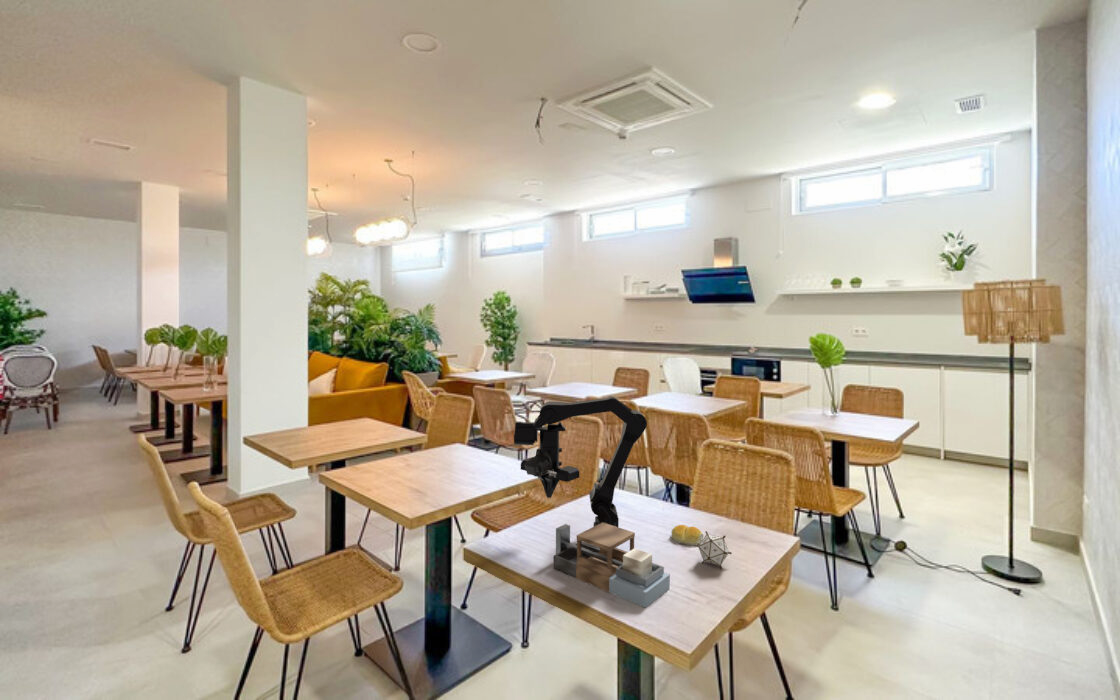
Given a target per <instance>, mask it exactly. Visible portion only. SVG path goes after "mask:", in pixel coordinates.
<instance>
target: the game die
mask: <svg viewBox="0 0 1120 700" xmlns="http://www.w3.org/2000/svg"><path fill="white" fill-rule="evenodd" d="M705 534H706V535H705V536H703V540H702V541H701V543H700V544H698V545H694V546H695V547H696V548H698V550H699V553H700V555H701V558H702V561H701V564H702V565H703V564H705V563H708V564H712V565H716V566H719V568H720V569H723V566H722V564H723V563H724V561H725V560H726V558H727V557H728V556H729V555H732V554H733V552H731V551H729V548H728V546H727V543H726V540H725V539H726V534H725V535H723V536H717V535H714V534H709V532H708V531H707V530H705Z"/></svg>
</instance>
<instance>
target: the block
mask: <svg viewBox="0 0 1120 700" xmlns="http://www.w3.org/2000/svg"><path fill="white" fill-rule="evenodd" d="M627 552H628V553H626V554H624V555H623V570H625V571H628V572H631V573H633V574H636V575H639V576H641V577H644V578H646V577H647V576H649V575H650V574H651V573H652V563H653V554H652V553H650V552H647V551H644V550H640V549H638V548H636V547H634V549H632V550H631V551H630V550H629V551H627Z"/></svg>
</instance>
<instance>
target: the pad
mask: <svg viewBox="0 0 1120 700" xmlns="http://www.w3.org/2000/svg"><path fill="white" fill-rule="evenodd" d="M652 573H653V571H652ZM670 578H671V574H670V573H667V572H664V574H663V575H662V576H661V577H659V578H658V579H657V580H655V581H654V582H653V583H651V584H650V585H649V586H647V587H643V586H641V585H638V584H636V583H633V582H630V581H628V580H625V579H623V578H620V577H618V576H616V574H615V575H613V576H612V577H610V578H609V592H608V593H610V594H611V595H615V596H617V597H619V598H622V599H624V600H627V601H629V602H631V603H633V604H636V605H638V606H641V607H643V608H648V606H650V605H651V604H652V603H654V602H655V601H656V600H657V599H658V598H660V597H661V596H662V595H663V594H665V593H666V592H667V591H668V590H670V587H671V586H670V585H671V584H670V583H671V581H670V580H671V579H670Z"/></svg>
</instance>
